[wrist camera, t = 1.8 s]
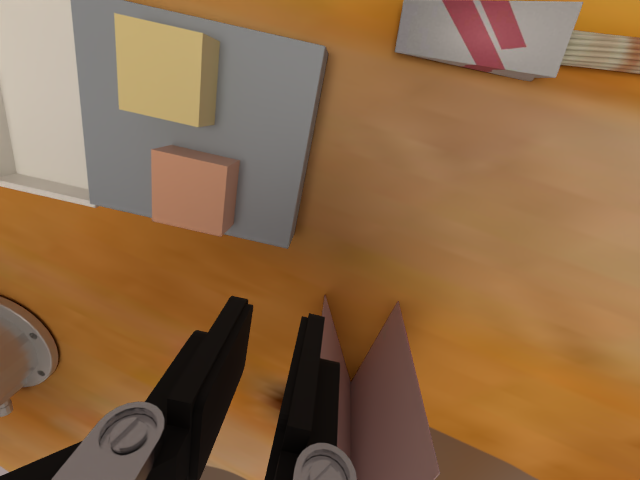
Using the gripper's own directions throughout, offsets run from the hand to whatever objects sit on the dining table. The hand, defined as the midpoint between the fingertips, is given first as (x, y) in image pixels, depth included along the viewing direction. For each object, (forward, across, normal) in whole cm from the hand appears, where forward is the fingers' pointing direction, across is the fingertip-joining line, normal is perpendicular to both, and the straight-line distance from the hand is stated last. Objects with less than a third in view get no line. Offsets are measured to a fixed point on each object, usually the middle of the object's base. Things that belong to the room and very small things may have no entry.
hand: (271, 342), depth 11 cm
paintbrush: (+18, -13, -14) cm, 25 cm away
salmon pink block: (+14, +8, 0) cm, 16 cm away
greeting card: (+17, -6, +13) cm, 22 cm away
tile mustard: (+14, +10, -7) cm, 19 cm away
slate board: (+17, +10, -4) cm, 20 cm away
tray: (+17, +22, -4) cm, 28 cm away
